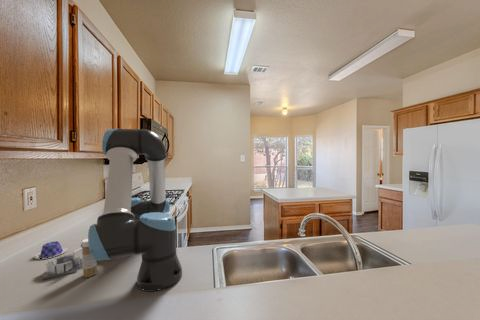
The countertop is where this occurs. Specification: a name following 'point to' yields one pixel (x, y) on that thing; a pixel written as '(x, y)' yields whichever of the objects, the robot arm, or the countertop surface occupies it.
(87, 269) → the sprinkles bottle
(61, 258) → the collar
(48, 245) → the checkered hat
